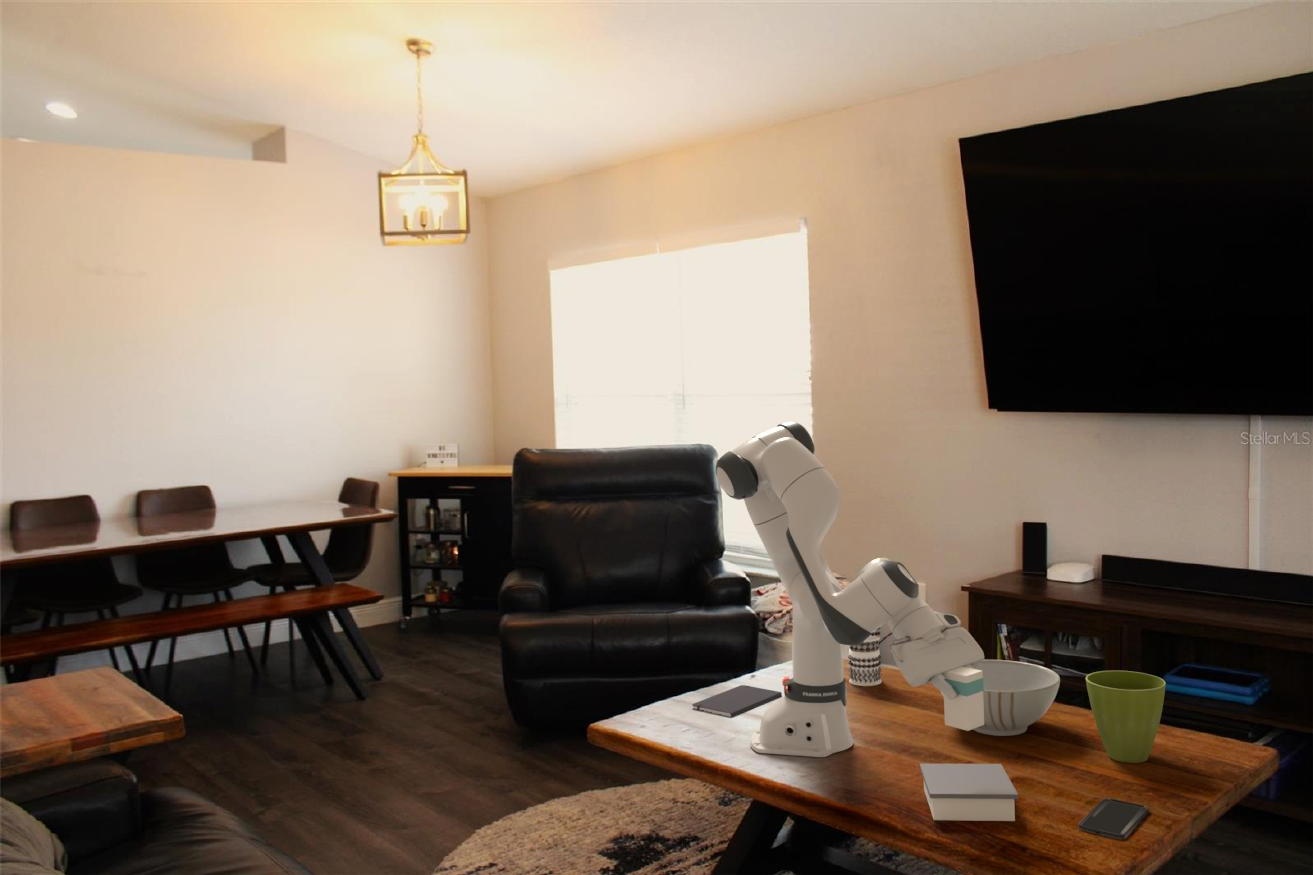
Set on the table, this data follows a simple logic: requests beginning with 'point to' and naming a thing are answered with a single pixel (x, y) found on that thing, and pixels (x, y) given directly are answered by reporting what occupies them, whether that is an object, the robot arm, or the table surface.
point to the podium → (969, 792)
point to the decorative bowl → (1015, 695)
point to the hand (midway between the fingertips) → (966, 693)
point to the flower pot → (1126, 712)
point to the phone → (1113, 818)
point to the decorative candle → (865, 662)
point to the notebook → (737, 700)
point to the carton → (965, 699)
